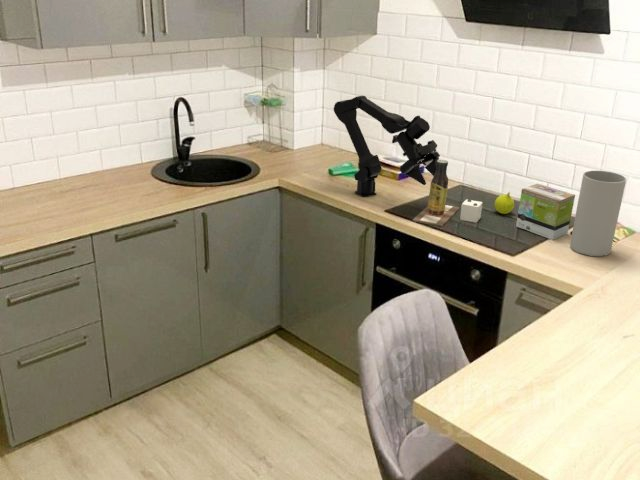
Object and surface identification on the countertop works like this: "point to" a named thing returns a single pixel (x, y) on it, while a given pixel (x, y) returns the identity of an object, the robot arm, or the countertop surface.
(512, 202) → the yellow-green round fruit
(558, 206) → the tea box
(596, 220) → the cylinder vase
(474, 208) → the die
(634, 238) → the countertop surface
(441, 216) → the walnut board
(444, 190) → the sauce bottle
